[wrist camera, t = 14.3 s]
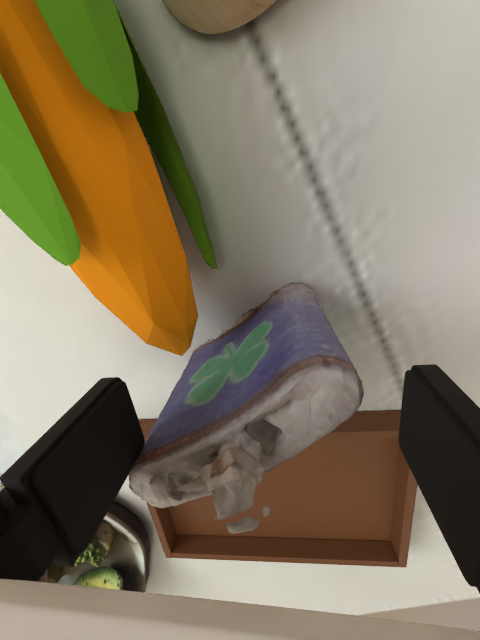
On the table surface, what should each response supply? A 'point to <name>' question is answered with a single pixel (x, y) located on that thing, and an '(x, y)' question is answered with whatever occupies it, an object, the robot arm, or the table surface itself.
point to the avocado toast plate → (110, 555)
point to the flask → (248, 407)
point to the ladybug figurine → (216, 13)
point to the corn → (96, 163)
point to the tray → (311, 504)
